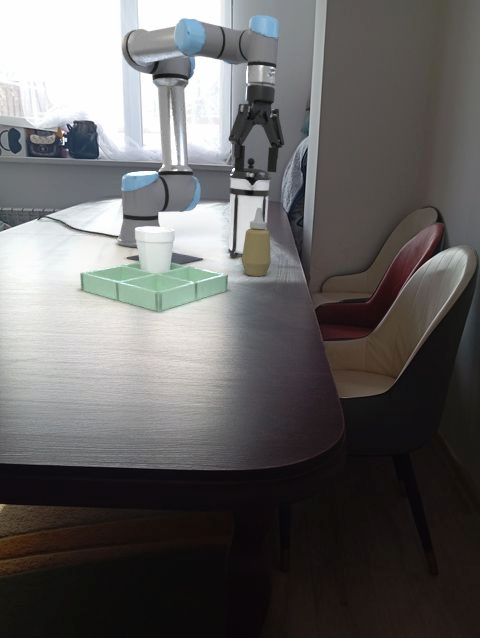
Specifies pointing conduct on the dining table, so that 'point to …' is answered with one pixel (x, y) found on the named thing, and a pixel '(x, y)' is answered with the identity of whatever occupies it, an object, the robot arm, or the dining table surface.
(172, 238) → the foam cup
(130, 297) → the divided sorting tray
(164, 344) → the dining table surface
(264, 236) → the squeeze bottle
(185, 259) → the mat
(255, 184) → the coffee press
